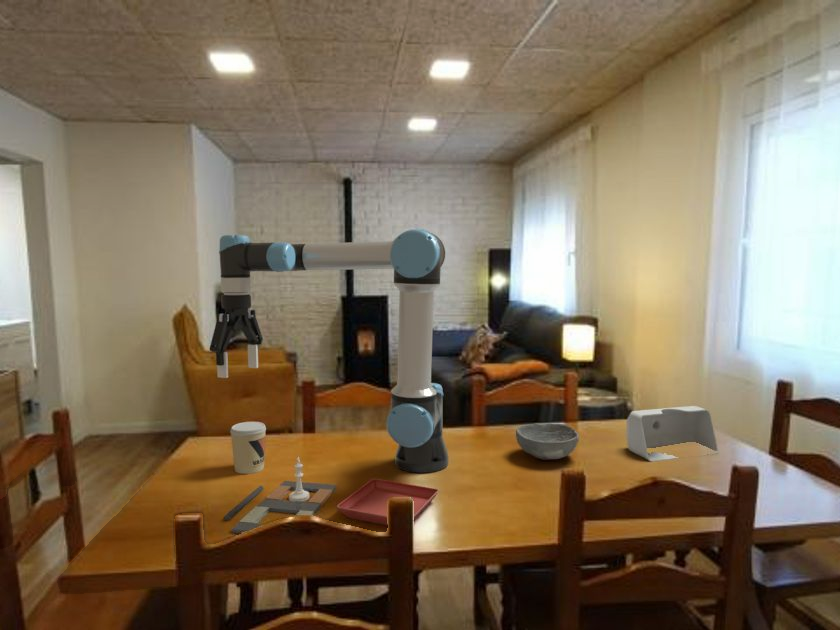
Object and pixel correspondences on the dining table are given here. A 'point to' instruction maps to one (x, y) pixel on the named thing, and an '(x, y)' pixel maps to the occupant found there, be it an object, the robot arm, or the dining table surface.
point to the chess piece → (299, 485)
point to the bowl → (547, 440)
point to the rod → (243, 503)
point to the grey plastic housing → (668, 430)
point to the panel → (286, 504)
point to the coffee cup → (248, 446)
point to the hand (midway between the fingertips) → (238, 372)
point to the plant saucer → (383, 499)
